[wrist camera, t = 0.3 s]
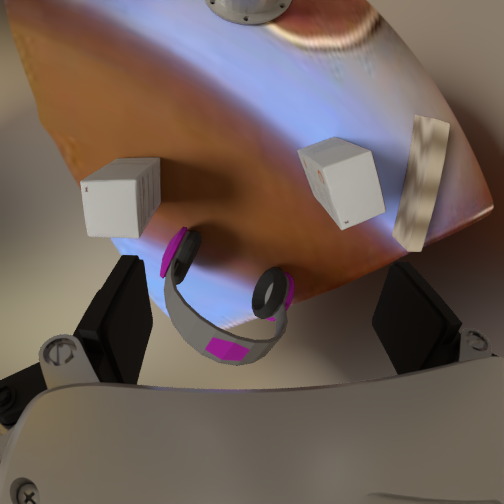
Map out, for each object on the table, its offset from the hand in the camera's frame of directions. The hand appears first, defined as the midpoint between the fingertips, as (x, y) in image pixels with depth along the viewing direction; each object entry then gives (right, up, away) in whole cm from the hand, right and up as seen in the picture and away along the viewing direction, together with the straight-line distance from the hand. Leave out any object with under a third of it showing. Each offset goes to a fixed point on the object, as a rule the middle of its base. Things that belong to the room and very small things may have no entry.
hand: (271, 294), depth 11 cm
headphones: (-5, 0, +39) cm, 39 cm away
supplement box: (-18, +13, +31) cm, 38 cm away
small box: (+10, +15, +32) cm, 36 cm away
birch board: (+27, +14, +33) cm, 45 cm away
